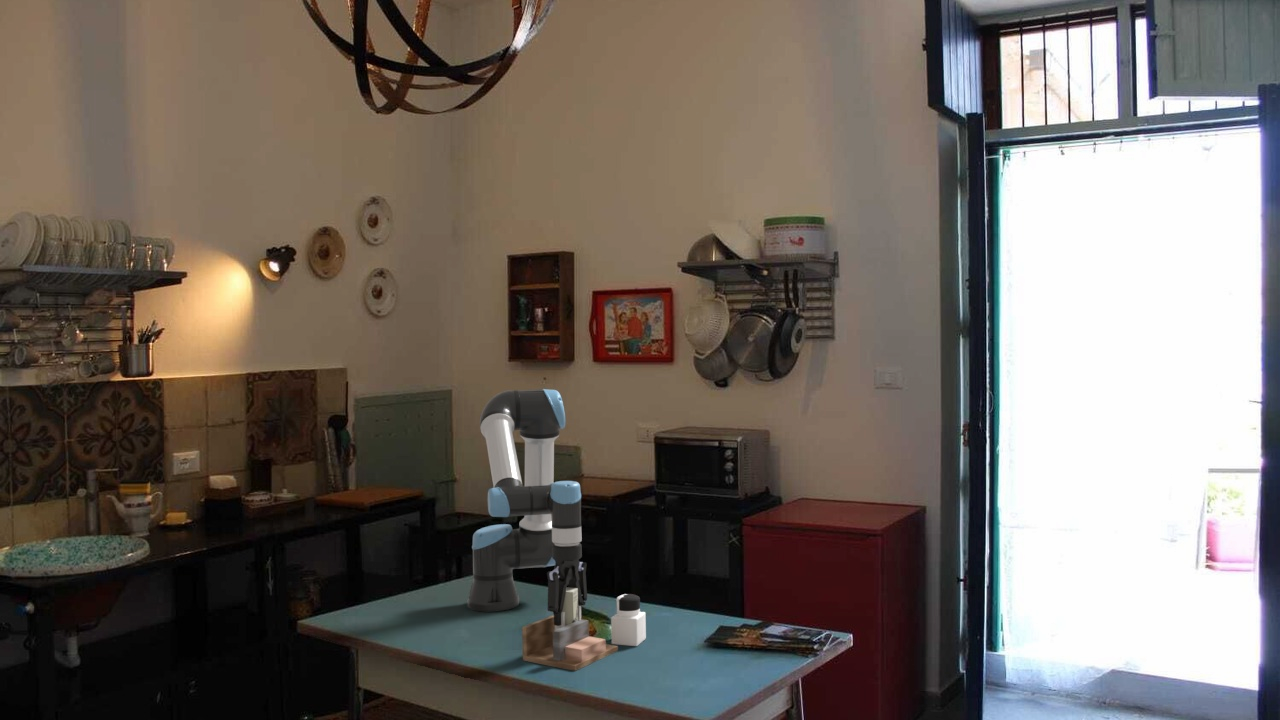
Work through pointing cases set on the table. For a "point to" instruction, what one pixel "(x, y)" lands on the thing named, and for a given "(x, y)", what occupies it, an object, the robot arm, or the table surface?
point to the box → (571, 606)
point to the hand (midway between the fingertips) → (568, 634)
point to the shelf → (545, 646)
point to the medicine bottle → (628, 621)
